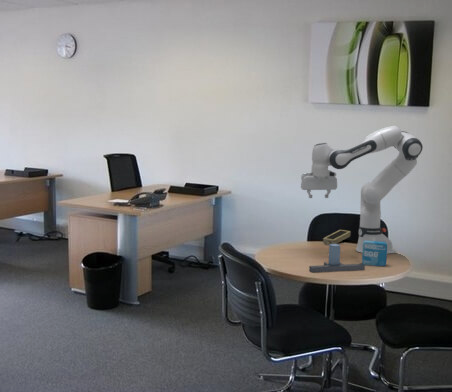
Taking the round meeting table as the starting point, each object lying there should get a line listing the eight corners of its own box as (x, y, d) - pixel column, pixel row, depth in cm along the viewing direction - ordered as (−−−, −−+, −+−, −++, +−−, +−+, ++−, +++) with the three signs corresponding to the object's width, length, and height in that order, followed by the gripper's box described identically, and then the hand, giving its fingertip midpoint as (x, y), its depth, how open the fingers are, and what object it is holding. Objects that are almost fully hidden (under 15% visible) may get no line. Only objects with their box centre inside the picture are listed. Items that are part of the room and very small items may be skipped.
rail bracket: (357, 265, 271) (357, 261, 271) (364, 270, 264) (364, 265, 263) (305, 268, 265) (305, 263, 265) (311, 272, 257) (311, 267, 257)
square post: (335, 267, 268) (336, 243, 267) (339, 269, 264) (340, 245, 263) (328, 267, 267) (329, 244, 265) (332, 269, 263) (333, 245, 262)
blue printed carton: (361, 264, 274) (363, 241, 273) (361, 262, 278) (363, 240, 277) (386, 266, 271) (387, 243, 270) (385, 264, 275) (387, 241, 274)
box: (351, 238, 332) (351, 230, 331) (331, 250, 316) (331, 242, 315) (340, 236, 337) (339, 229, 336) (320, 247, 322) (319, 240, 321)
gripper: (303, 173, 286) (302, 199, 288) (339, 173, 291) (337, 198, 292) (299, 172, 292) (298, 197, 294) (334, 172, 297) (333, 196, 298)
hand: (318, 197), depth 293 cm, fingers open, 8 cm apart
